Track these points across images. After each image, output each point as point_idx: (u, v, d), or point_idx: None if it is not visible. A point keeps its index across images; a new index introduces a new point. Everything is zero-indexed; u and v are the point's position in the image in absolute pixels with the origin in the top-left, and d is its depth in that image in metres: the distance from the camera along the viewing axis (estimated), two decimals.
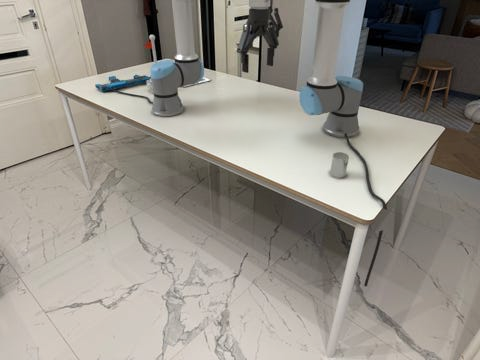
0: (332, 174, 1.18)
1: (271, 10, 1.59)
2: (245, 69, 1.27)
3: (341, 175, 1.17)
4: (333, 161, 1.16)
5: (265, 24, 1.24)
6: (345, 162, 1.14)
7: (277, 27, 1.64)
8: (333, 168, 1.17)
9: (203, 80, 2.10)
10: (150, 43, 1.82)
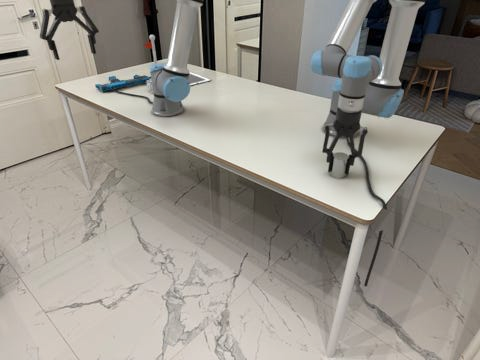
0: (332, 174, 1.18)
1: None
2: (55, 56, 1.23)
3: (341, 175, 1.17)
4: (333, 161, 1.16)
5: (71, 9, 1.20)
6: (345, 162, 1.14)
7: None
8: (333, 168, 1.17)
9: (203, 80, 2.10)
10: (150, 43, 1.82)
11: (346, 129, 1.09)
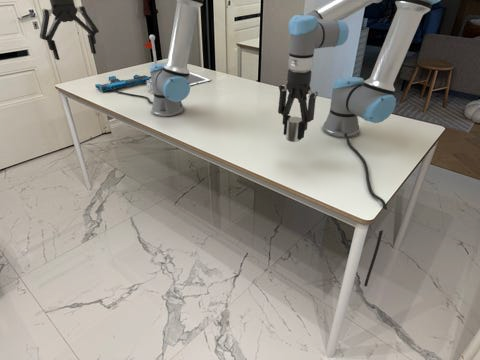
0: (286, 137, 1.20)
1: None
2: (55, 56, 1.23)
3: (292, 139, 1.18)
4: (287, 123, 1.18)
5: (71, 9, 1.20)
6: (295, 125, 1.15)
7: None
8: (286, 130, 1.19)
9: (203, 80, 2.10)
10: (150, 43, 1.82)
11: (296, 91, 1.11)
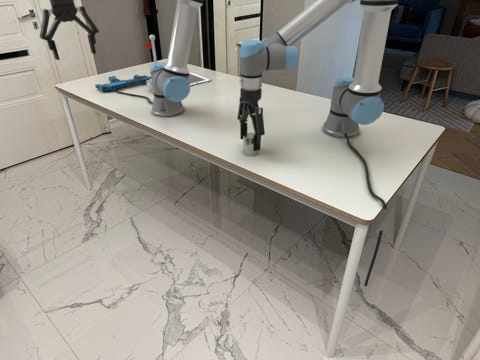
0: None
1: None
2: (55, 56, 1.23)
3: (246, 152, 1.31)
4: None
5: (71, 9, 1.20)
6: (247, 141, 1.28)
7: None
8: None
9: (203, 80, 2.10)
10: (150, 43, 1.82)
11: None
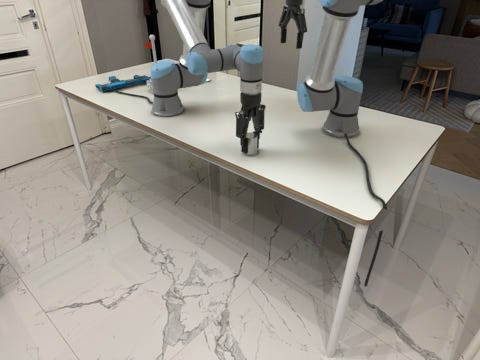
0: None
1: None
2: (244, 150, 1.30)
3: None
4: None
5: (257, 105, 1.24)
6: None
7: None
8: None
9: None
10: (150, 43, 1.82)
11: None
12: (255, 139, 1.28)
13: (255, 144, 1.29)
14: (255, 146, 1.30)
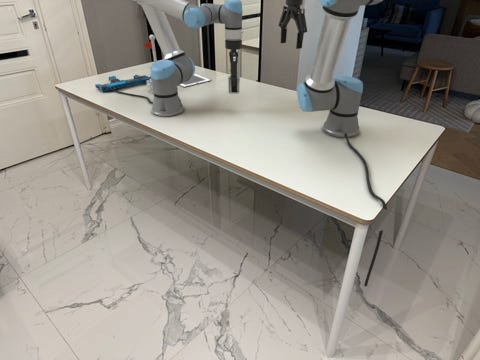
0: (229, 92, 1.62)
1: None
2: (235, 90, 1.60)
3: None
4: (228, 81, 1.60)
5: None
6: None
7: None
8: (229, 86, 1.61)
9: (203, 80, 2.10)
10: (150, 43, 1.82)
11: None
12: None
13: None
14: None
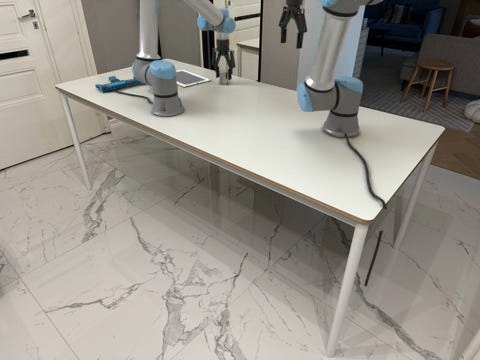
0: (223, 83, 2.05)
1: None
2: (230, 77, 2.03)
3: (227, 82, 2.06)
4: (222, 75, 2.02)
5: None
6: (227, 73, 2.04)
7: None
8: (223, 79, 2.03)
9: (203, 80, 2.10)
10: None
11: None
12: None
13: None
14: None
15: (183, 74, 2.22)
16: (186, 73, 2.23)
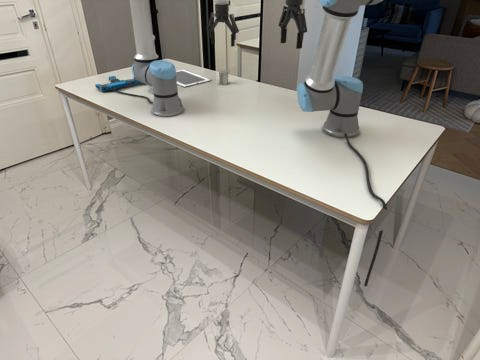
0: (223, 83, 2.05)
1: None
2: (233, 44, 1.91)
3: (227, 82, 2.06)
4: (222, 75, 2.02)
5: None
6: (227, 73, 2.04)
7: None
8: (223, 79, 2.03)
9: (203, 80, 2.10)
10: None
11: None
12: None
13: None
14: None
15: (183, 74, 2.22)
16: (186, 73, 2.23)
